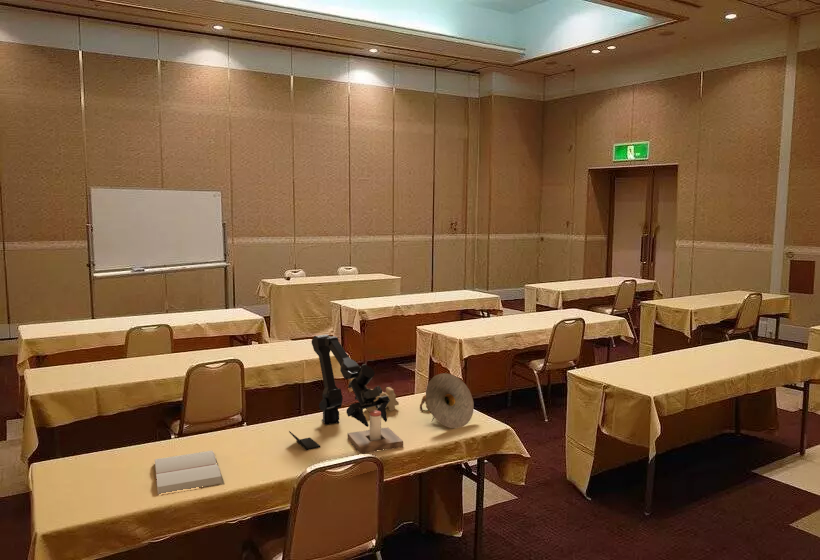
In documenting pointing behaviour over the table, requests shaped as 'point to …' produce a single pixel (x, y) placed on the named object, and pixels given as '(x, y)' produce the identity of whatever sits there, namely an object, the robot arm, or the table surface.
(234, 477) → the table surface
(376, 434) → the post
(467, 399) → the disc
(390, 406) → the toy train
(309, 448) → the black spatula
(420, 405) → the lion figurine
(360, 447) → the jig plate
